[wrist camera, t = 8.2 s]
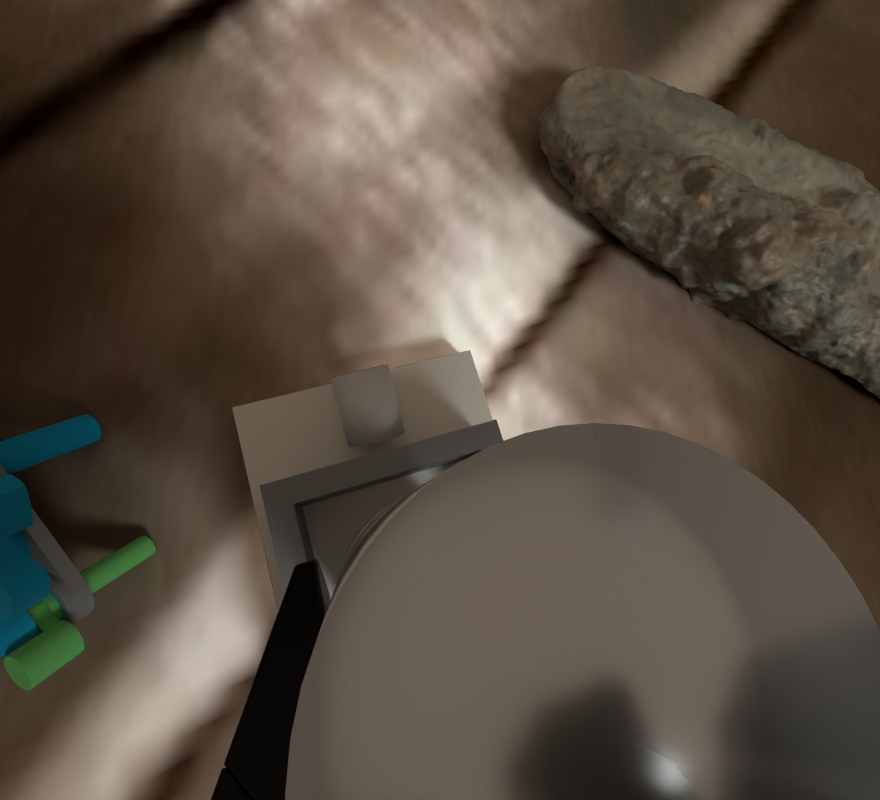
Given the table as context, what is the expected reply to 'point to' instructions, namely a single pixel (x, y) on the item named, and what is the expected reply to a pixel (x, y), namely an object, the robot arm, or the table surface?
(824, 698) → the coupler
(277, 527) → the shaft mount
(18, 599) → the blue and green toy
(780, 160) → the elongated rock
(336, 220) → the table surface
